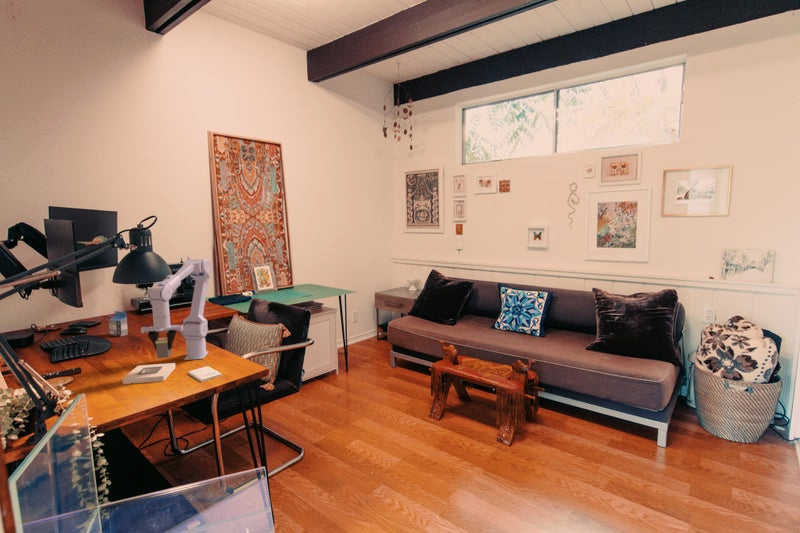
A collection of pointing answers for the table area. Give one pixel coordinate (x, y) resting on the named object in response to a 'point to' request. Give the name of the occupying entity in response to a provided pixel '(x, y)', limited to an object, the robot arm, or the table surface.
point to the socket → (149, 373)
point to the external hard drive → (204, 373)
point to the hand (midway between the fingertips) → (163, 349)
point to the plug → (162, 348)
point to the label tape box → (118, 324)
